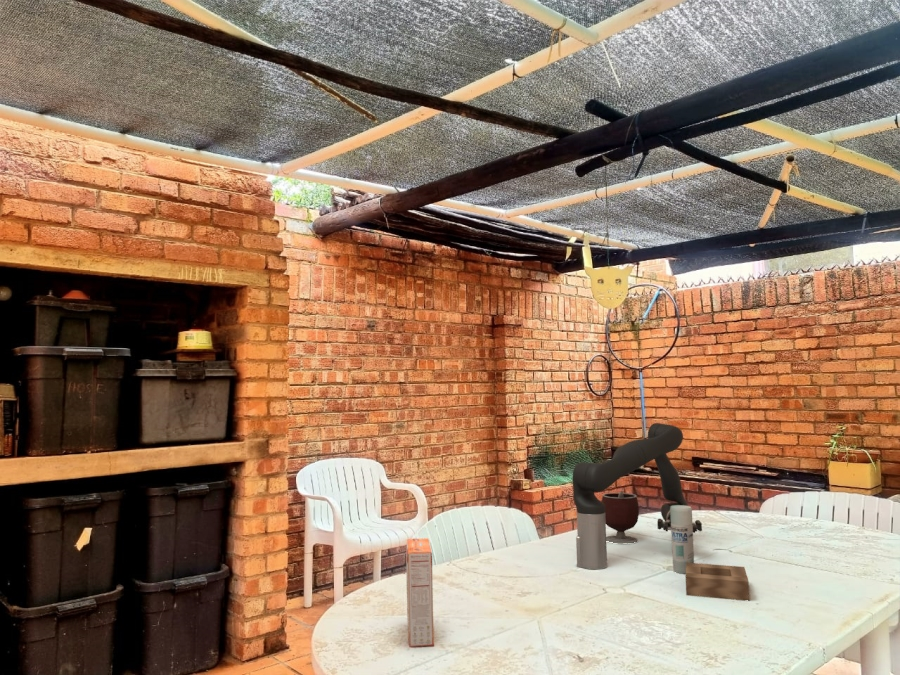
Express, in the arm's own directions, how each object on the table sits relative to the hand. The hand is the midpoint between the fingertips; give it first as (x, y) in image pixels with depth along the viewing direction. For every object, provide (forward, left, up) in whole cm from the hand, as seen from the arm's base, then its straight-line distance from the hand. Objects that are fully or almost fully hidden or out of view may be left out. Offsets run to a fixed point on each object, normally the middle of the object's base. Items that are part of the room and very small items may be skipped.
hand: (680, 529), depth 212 cm
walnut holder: (+10, -28, -11) cm, 31 cm away
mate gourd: (-22, +27, -11) cm, 37 cm away
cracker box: (-56, -88, -11) cm, 105 cm away
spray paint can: (+1, -11, -11) cm, 16 cm away
